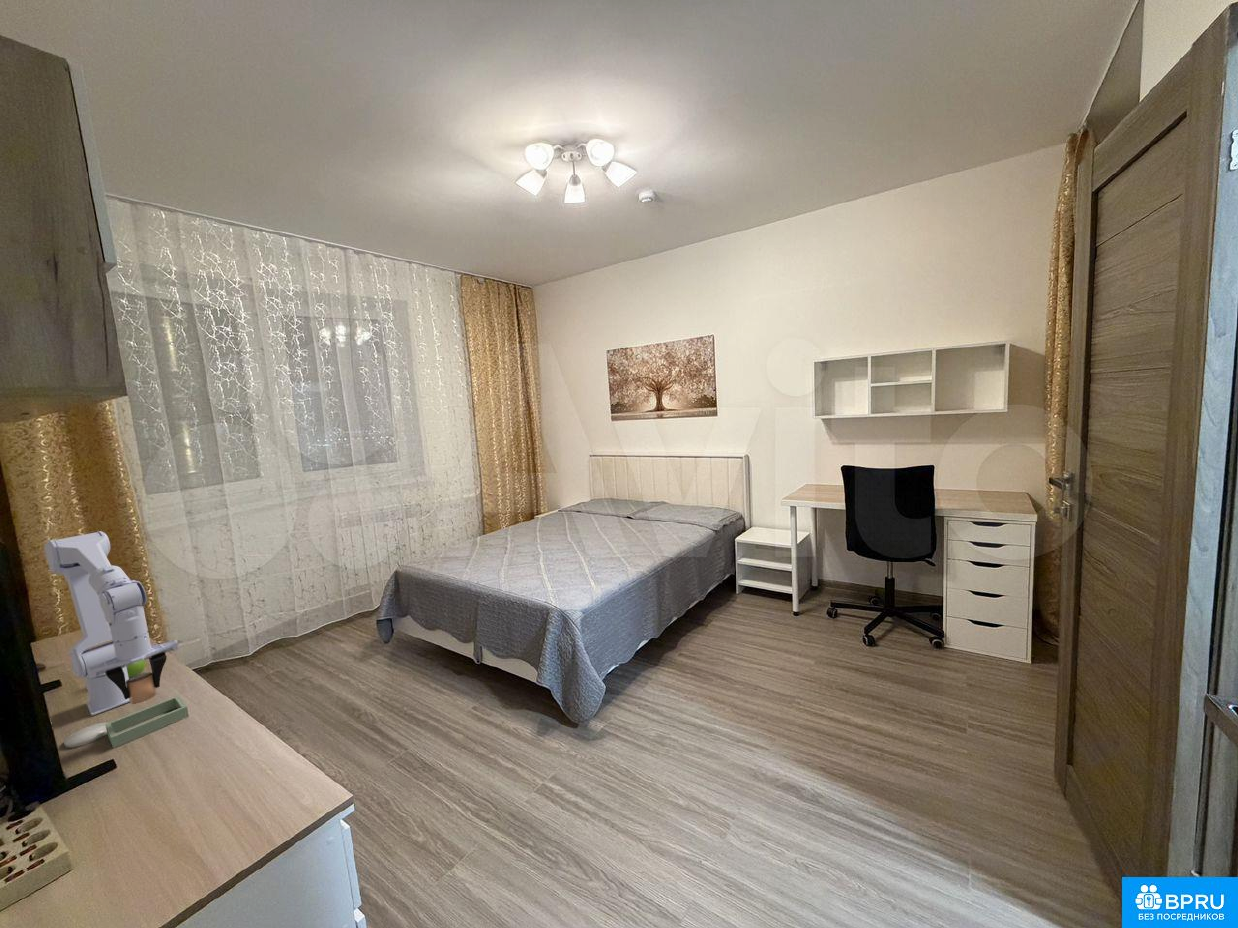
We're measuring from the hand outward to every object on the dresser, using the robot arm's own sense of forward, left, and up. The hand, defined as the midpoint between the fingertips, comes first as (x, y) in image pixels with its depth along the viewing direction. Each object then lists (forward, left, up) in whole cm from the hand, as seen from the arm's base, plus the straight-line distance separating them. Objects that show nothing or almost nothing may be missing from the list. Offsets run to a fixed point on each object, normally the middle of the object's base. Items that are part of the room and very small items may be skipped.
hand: (142, 691), depth 111 cm
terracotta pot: (0, 0, -2) cm, 2 cm away
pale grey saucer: (-7, -9, -8) cm, 14 cm away
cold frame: (0, 0, -8) cm, 8 cm away
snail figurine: (-36, +3, -9) cm, 37 cm away
